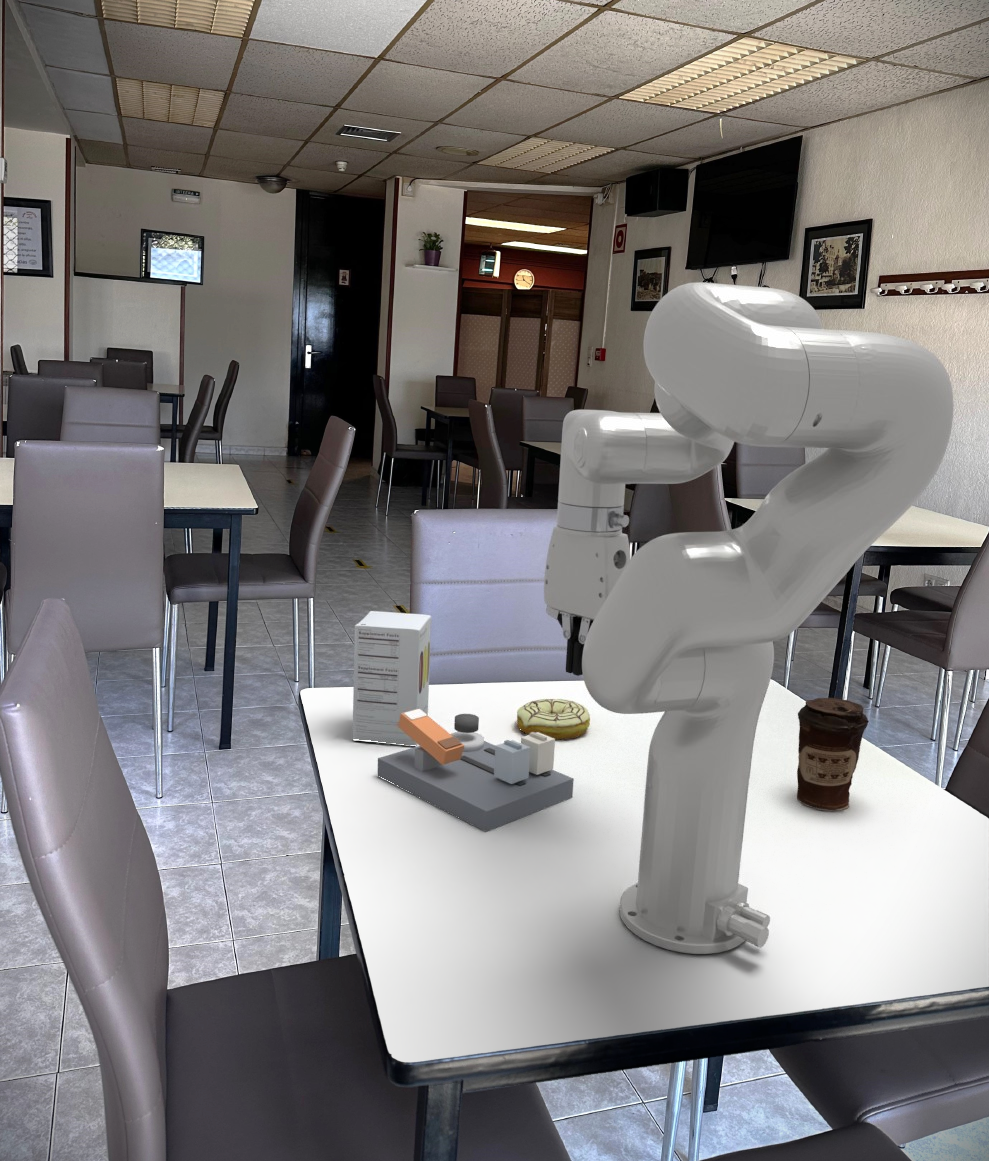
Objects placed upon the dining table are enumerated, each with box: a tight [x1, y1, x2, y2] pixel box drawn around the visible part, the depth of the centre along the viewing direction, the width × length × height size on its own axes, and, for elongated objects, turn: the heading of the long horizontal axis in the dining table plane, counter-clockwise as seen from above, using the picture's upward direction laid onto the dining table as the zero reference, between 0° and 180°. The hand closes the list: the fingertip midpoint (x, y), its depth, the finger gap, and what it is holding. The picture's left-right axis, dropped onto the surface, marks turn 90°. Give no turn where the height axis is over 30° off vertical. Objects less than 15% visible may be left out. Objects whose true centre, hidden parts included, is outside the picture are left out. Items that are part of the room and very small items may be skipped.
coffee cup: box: [796, 697, 870, 812], centre depth 127 cm, size 9×8×13 cm
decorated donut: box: [516, 698, 591, 740], centre depth 150 cm, size 10×11×4 cm
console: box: [377, 731, 575, 832], centre depth 128 cm, size 20×15×5 cm
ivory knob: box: [520, 732, 556, 775], centre depth 127 cm, size 3×3×4 cm
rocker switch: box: [398, 709, 464, 765], centre depth 127 cm, size 9×3×2 cm, turn 45°
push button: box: [453, 713, 480, 733], centre depth 135 cm, size 3×3×2 cm
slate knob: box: [494, 739, 530, 784], centre depth 124 cm, size 3×3×4 cm
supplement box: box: [352, 610, 432, 746], centre depth 143 cm, size 10×9×17 cm
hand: (579, 671), depth 120 cm, fingers closed
